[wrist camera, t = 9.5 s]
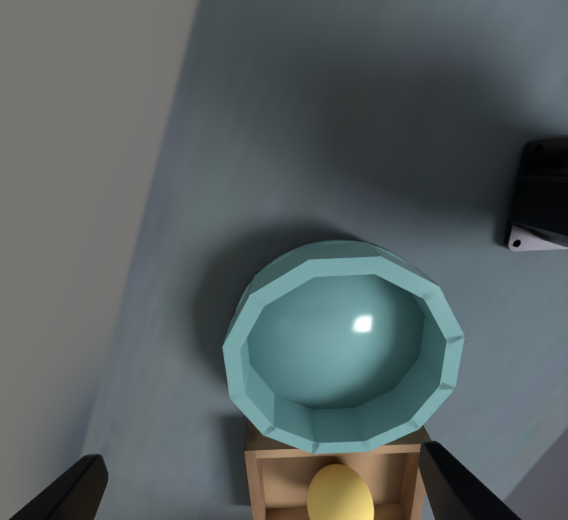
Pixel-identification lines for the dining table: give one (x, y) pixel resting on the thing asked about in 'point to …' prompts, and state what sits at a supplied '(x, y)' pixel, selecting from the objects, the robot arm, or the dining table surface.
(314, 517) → the ball
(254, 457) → the tray
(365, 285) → the bowl
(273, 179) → the dining table surface
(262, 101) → the dining table surface
